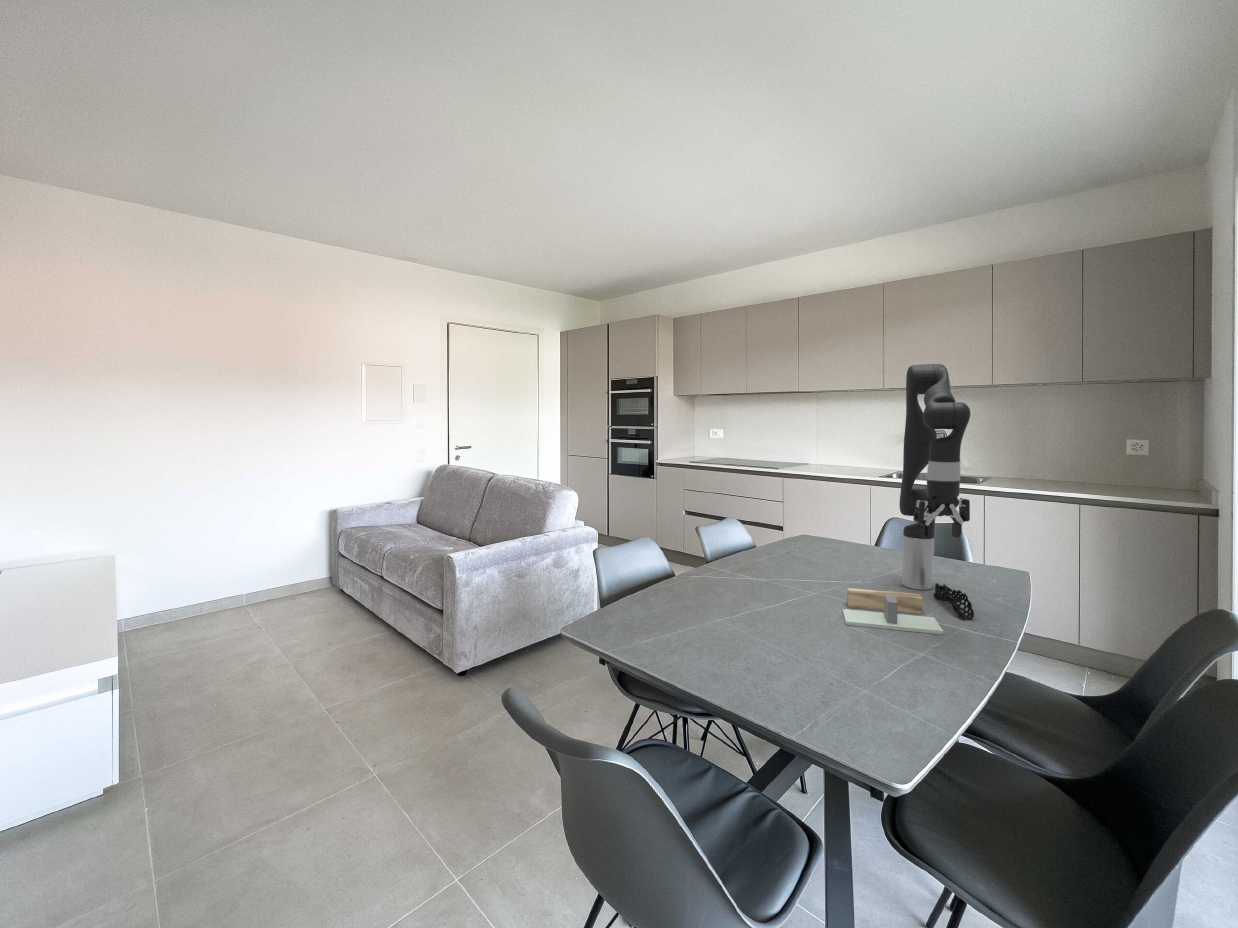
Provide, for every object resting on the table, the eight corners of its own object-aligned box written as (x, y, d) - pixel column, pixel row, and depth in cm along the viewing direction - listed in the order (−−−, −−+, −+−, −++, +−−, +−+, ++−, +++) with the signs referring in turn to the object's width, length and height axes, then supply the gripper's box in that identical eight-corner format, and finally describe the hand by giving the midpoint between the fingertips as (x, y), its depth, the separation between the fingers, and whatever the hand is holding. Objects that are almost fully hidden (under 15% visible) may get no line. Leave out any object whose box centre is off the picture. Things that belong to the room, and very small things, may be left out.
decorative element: (978, 622, 151) (979, 602, 151) (958, 620, 152) (959, 600, 152) (945, 596, 173) (946, 578, 173) (928, 595, 174) (929, 577, 174)
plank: (847, 603, 167) (847, 588, 167) (918, 610, 161) (919, 593, 161) (848, 608, 163) (848, 592, 163) (922, 614, 157) (922, 598, 157)
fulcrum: (842, 612, 159) (843, 589, 159) (934, 620, 152) (935, 596, 151) (845, 624, 150) (846, 600, 149) (943, 634, 142) (944, 609, 142)
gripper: (958, 475, 146) (955, 533, 148) (908, 477, 145) (906, 535, 147) (979, 479, 139) (976, 540, 140) (927, 480, 137) (924, 542, 139)
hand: (940, 537), depth 144 cm, fingers open, 8 cm apart
